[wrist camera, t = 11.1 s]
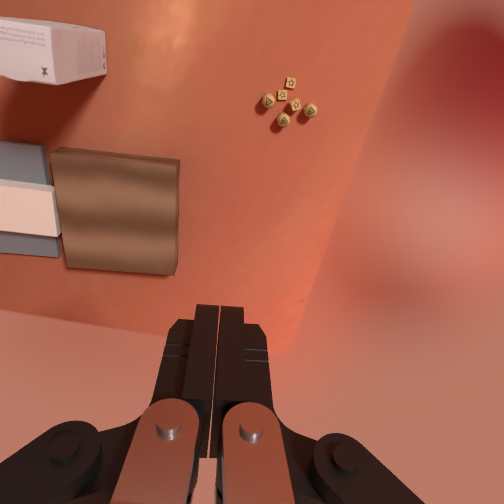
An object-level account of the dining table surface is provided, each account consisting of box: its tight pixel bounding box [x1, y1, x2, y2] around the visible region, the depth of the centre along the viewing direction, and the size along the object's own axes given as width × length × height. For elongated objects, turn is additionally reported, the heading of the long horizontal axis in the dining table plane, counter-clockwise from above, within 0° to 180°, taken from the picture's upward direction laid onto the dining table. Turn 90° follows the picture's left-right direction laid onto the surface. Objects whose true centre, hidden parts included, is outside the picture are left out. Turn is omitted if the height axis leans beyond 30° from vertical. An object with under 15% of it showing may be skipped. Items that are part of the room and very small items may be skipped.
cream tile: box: [0, 179, 62, 237], centre depth 44 cm, size 6×9×2 cm, turn 81°
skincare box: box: [0, 17, 107, 85], centre depth 33 cm, size 6×4×12 cm
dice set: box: [262, 77, 318, 127], centre depth 41 cm, size 5×5×2 cm
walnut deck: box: [50, 147, 180, 276], centre depth 46 cm, size 15×14×3 cm
